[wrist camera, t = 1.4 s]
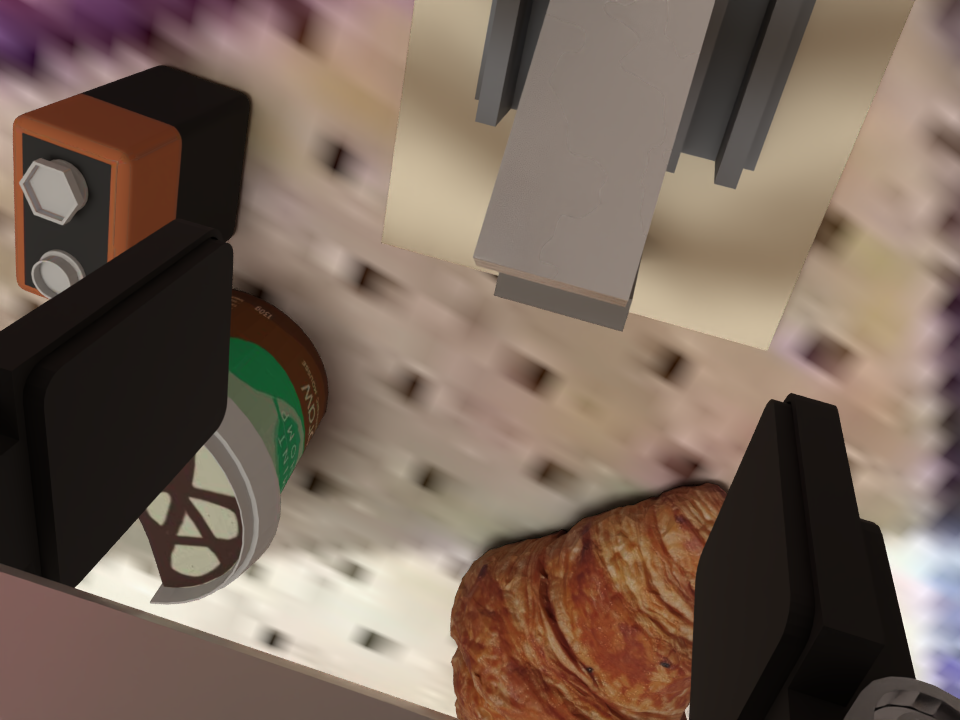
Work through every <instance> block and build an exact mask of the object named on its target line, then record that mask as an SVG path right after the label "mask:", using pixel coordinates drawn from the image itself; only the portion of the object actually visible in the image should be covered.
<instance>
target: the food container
mask: <svg viewBox="0 0 960 720" xmlns="http://www.w3.org/2000/svg"><path fill="white" fill-rule="evenodd" d="M328 393H329V392H328V381H327V376H326V372H325V369H324V365H323V363H322V361H321V358H320V356H319V354H318V352H317V350H316V349H315V347H314V345H313V344H312V342H311V341H310V339H309V338H308V337H307V336H306V334H305V333H304V332H303V331H302V329H301V328H300V327H299V326H298V325H297V324H296V323H295V322H294V321H293V320H291V319H290V318H289V317H288V316H287V315H286V314H284V313H283V312H282V311H280V310H279V309H277V308H276V307H275V306H273V305H271V304H269V303H268V302H266V301H264V300H262V299H260V298H258V297H255V296H253V295H250V294H248V293H245V292H242V291H238V290H234V289H232V301H231V325H230V349H229V374H228V398H227V409H226V413H225V416H224V419H223V421H222V423H221V425H220V427H219V428H218V429H217V431H216V432H215V433H214V434H213V435H212V436H211V437H210V439H209V440H208V441H207V442H206V443H205V444H204V445H203V446H202V447H201V449H200V450H199V451H198V452H197V453H196V454H195V455H194V456H193V457H192V459H191V460H190V461H189V462H188V463H187V464H186V465H185V466H184V467H183V469H182V470H181V471H180V472H179V473H178V474H177V475H176V476H175V477H174V479H173V480H172V481H171V482H170V483H169V484H168V485H167V486H166V487H165V489H164V490H163V491H162V492H161V493H160V494H159V495H158V496H157V497H156V499H155V500H154V501H153V502H152V503H151V504H150V505H149V506H148V507H147V509H146V510H145V511H144V512H143V513H142V514H141V515H140V516H139V517H138V518H139V520H140V522H141V523H142V525H143V528H144V530H145V532H146V535H147V537H148V539H149V542H150V545H151V548H152V551H153V554H154V558H155V561H156V564H157V567H158V570H159V574H160V577H161V580H162V584H161V586H160V588H159V589H158V591H157V592H156V594H155V595H154V597H153V598H152V600H151V601H150V603H153V604H180V603H187V602H191V601H195V600H199V599H201V598H203V597H206V596H208V595H210V594H212V593H214V592H215V591H217V590H219V589H221V588H224V587H226V586H227V585H228V584H230V583H231V582H232V581H234V580H235V579H236V578H238V577H239V576H240V575H241V574H242V573H243V572H244V571H246V570H247V569H248V568H249V567H250V566H251V565H252V564H253V563H255V562H256V561H257V560H258V559H259V558H260V557H261V555H262V554H263V553H264V552H265V551H266V550H267V548H268V547H269V545H270V543H271V542H272V540H273V538H274V536H275V534H276V531H277V527H278V523H279V519H280V510H281V495H280V494H281V492H282V490H283V488H284V487H285V485H286V483H287V481H288V479H289V478H290V476H291V474H292V472H293V470H294V468H295V467H296V465H297V463H298V461H299V459H300V458H301V456H302V454H303V452H304V450H305V449H306V447H307V445H308V443H309V441H310V439H311V438H312V436H313V434H314V432H315V430H316V429H317V427H318V425H319V423H320V421H321V420H322V418H323V416H324V414H325V412H326V408H327V400H328Z"/></svg>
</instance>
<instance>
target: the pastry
mask: <svg viewBox="0 0 960 720" xmlns="http://www.w3.org/2000/svg"><path fill="white" fill-rule="evenodd" d="M726 496H727V493H726V492H725V491H724V490H723V489H721V488H720V487H719V486H718V485H715V484H711V483H705V484H703V485H701V486H695V485H692V486H680V487H677V488H674V489H672V490H670V491H665V492H663V493H662V494H661V495H660V496H658V497H650V498H649V499H647V500H644V501H641V502H639V503H637V504H635V505H627V506H625V507H618V508H615V509H612V510H607V511H604V512H602V513H600V514H598V515H595V516H592V517H586V518H584V519H582V520H581V521H579V522H578V523H577V524H576V525H574V526H573V527H572V528H571V530H570V531H569V532H566V531H565V530H562V529H561V530H560V531H558V532H555V533H553V534H550V535H548V536H545V537H542V538H536V539H527V540H525V541H519V542H516V543H512V544H507V545H505V546H502V547H499V548H495V549H492V550H488V551H487V552H486V553H485V554H484V555H483V556H482V557H480V558H479V559H477V560H476V561H474V562H473V564H472V566H471V567H470V569H469V570H468V572H467V573H466V574H465V575H464V577H463V578H462V582H461V584H460V586H459V589H458V591H457V594H456V596H455V601H454V605H453V608H452V612H451V625H450V631H451V637H452V638H453V639H454V640H455V641H456V643H457V645H458V648H457V650H456V652H455V654H454V656H453V658H452V661H451V663H452V666H453V684H454V691H455V694H456V696H457V700H456V702H455V706H456V714H457V718H458V719H460V720H687V718H686V715H685V709H686V708H687V706H688V705H689V703H690V688H691V666H692V643H693V621H694V598H695V578H696V571H697V567H698V562H699V559H700V556H701V553H702V551H703V548H704V546H705V544H706V541H707V539H708V537H709V534H710V532H711V530H712V528H713V525H714V523H715V521H716V518H717V516H718V514H719V512H720V509H721V507H722V505H723V502H724V500H725V498H726Z"/></svg>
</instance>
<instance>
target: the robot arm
mask: <svg viewBox="0 0 960 720" xmlns="http://www.w3.org/2000/svg"><path fill="white" fill-rule="evenodd" d="M232 277H233V249H232V246H231V245H230V244H229V243H225V242H224V241H223V237H222V233H221V232H220V231H219V230H218V229H214V228H211V227H207V226H204V225H200V224H197V223H193V222H190V221H186V220H183V219H179V218H178V219H175V220H173V221H171V222H169V223H168V224H166V225H165V226H163V227H162V228H160V229H159V230H157V231H155V232H154V233H152V234H151V235H149V236H148V237H146V238H145V239H143V240H141V241H140V242H138V243H137V244H135V245H134V246H132V247H131V248H129V249H127V250H126V251H124V252H123V253H121V254H120V255H118V256H117V257H115V258H114V259H112V260H110V261H109V262H107V263H106V264H104V265H103V266H101V267H100V268H98V269H96V270H95V271H93V272H92V273H90V274H89V275H87V276H86V277H84V278H82V279H81V280H79V281H78V282H76V283H75V284H73V285H72V286H70V287H68V288H67V289H65V290H64V291H62V292H61V293H59V294H58V295H56V296H55V297H53V298H51V299H50V300H48V301H47V302H45V303H44V304H42V305H41V306H39V307H37V308H36V309H34V310H33V311H31V312H30V313H28V314H27V315H25V316H23V317H22V318H20V319H19V320H17V321H16V322H14V323H13V324H11V325H10V326H8V327H6V328H5V329H3V330H2V331H0V720H460V719H457V718H455V717H452V716H449V715H446V714H443V713H440V712H437V711H434V710H432V709H429V708H426V707H423V706H420V705H417V704H414V703H411V702H408V701H406V700H403V699H400V698H397V697H394V696H391V695H388V694H385V693H382V692H379V691H376V690H373V689H370V688H368V687H365V686H362V685H359V684H356V683H353V682H350V681H347V680H344V679H341V678H338V677H335V676H332V675H330V674H327V673H324V672H321V671H318V670H315V669H312V668H309V667H306V666H303V665H300V664H297V663H294V662H291V661H289V660H286V659H283V658H280V657H277V656H274V655H271V654H268V653H265V652H262V651H259V650H256V649H253V648H250V647H247V646H244V645H242V644H239V643H236V642H233V641H230V640H227V639H224V638H221V637H218V636H215V635H212V634H209V633H206V632H203V631H200V630H197V629H194V628H191V627H188V626H186V625H183V624H180V623H177V622H174V621H171V620H168V619H165V618H162V617H159V616H156V615H153V614H150V613H147V612H144V611H141V610H138V609H135V608H132V607H129V606H126V605H123V604H120V603H117V602H114V601H111V600H108V599H105V598H102V597H99V596H96V595H93V594H90V593H87V592H85V591H82V590H79V589H76V588H75V587H76V586H77V585H78V584H79V583H80V582H81V581H82V580H83V579H84V577H85V576H86V575H87V574H88V573H89V572H90V571H91V570H92V569H93V567H94V566H95V565H96V564H97V563H98V562H99V561H100V560H101V559H102V557H103V556H104V555H105V554H106V553H107V552H108V551H109V550H110V549H111V547H112V546H113V545H114V544H115V543H116V542H117V541H118V540H119V539H120V537H121V536H122V535H123V534H124V533H125V532H126V531H127V530H128V529H129V527H130V526H131V525H132V524H133V523H134V522H135V521H136V520H137V519H138V517H139V516H140V515H141V514H142V513H143V512H144V511H145V510H146V509H147V507H148V506H149V505H150V504H151V503H152V502H153V501H154V500H155V499H156V497H157V496H158V495H159V494H160V493H161V492H162V491H163V490H164V489H165V487H166V486H167V485H168V484H169V483H170V482H171V481H172V480H173V479H174V477H175V476H176V475H177V474H178V473H179V472H180V471H181V470H182V469H183V467H184V466H185V465H186V464H187V463H188V462H189V461H190V460H191V459H192V457H193V456H194V455H195V454H196V453H197V452H198V451H199V450H200V449H201V447H202V446H203V445H204V444H205V443H206V442H207V441H208V440H209V439H210V437H211V436H212V435H213V434H214V433H215V432H216V431H217V429H218V428H219V427H220V425H221V423H222V421H223V419H224V416H225V413H226V409H227V398H228V374H229V349H230V325H231V301H232ZM689 720H960V699H958V698H956V697H954V696H953V695H951V694H949V693H947V692H945V691H944V690H942V689H940V688H938V687H936V686H934V685H931V684H928V683H925V682H922V681H919V680H916V678H915V673H914V669H913V665H912V660H911V656H910V652H909V647H908V643H907V639H906V635H905V630H904V626H903V622H902V617H901V613H900V609H899V604H898V600H897V596H896V591H895V587H894V583H893V578H892V574H891V570H890V565H889V561H888V557H887V552H886V548H885V544H884V539H883V535H882V533H881V530H880V528H879V526H878V525H876V524H875V523H874V522H870V521H867V520H864V519H860V517H859V512H858V507H857V502H856V497H855V492H854V487H853V483H852V478H851V473H850V468H849V463H848V458H847V453H846V448H845V443H844V438H843V433H842V428H841V423H840V418H839V413H838V409H837V407H836V406H835V405H831V404H828V403H824V402H821V401H817V400H814V399H810V398H807V397H803V396H800V395H796V394H793V393H790V394H789V395H788V396H787V397H786V399H785V400H784V402H780V401H776V400H773V399H771V400H770V401H769V402H768V403H767V405H766V407H765V409H764V411H763V413H762V416H761V418H760V420H759V423H758V425H757V427H756V429H755V432H754V434H753V436H752V439H751V441H750V443H749V445H748V448H747V450H746V452H745V455H744V457H743V459H742V461H741V464H740V466H739V468H738V470H737V473H736V475H735V477H734V480H733V482H732V484H731V486H730V489H729V491H728V493H727V496H726V498H725V500H724V502H723V505H722V507H721V509H720V512H719V514H718V516H717V518H716V521H715V523H714V525H713V528H712V530H711V532H710V534H709V537H708V539H707V541H706V544H705V546H704V548H703V551H702V553H701V556H700V559H699V562H698V567H697V571H696V578H695V598H694V621H693V643H692V666H691V688H690V711H689Z"/></svg>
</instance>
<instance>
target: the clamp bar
mask: <svg viewBox="0 0 960 720" xmlns="http://www.w3.org/2000/svg"><path fill="white" fill-rule="evenodd" d="M714 3H715V0H550V2H549V5H548V9H547V12H546V15H545V19H544V22H543V25H542V29H541V32H540V35H539V39H538V42H537V45H536V49H535V52H534V55H533V59H532V62H531V65H530V69H529V72H528V75H527V79H526V82H525V85H524V88H523V92H522V95H521V98H520V102H519V105H518V108H517V112H516V115H515V118H514V122H513V125H512V128H511V132H510V135H509V138H508V142H507V145H506V148H505V152H504V155H503V158H502V162H501V165H500V168H499V172H498V175H497V178H496V182H495V185H494V188H493V191H492V195H491V198H490V201H489V205H488V208H487V211H486V215H485V218H484V221H483V225H482V228H481V231H480V235H479V238H478V241H477V245H476V248H475V251H474V255H473V259H474V261H475V263H476V265H477V266H479V267H483V268H486V269H490V270H494V271H497V272H501V273H504V274H508V275H511V276H515V277H519V278H522V279H526V280H529V281H533V282H536V283H540V284H544V285H547V286H551V287H554V288H558V289H562V290H565V291H569V292H572V293H576V294H579V295H583V296H587V297H590V298H594V299H597V300H601V301H604V302H608V303H612V304H615V305H619V306H622V307H625V306H626V304H627V302H628V300H629V297H630V293H631V290H632V286H633V283H634V279H635V276H636V272H637V269H638V265H639V262H640V259H641V255H642V252H643V248H644V245H645V241H646V238H647V234H648V231H649V228H650V224H651V221H652V217H653V214H654V210H655V207H656V203H657V200H658V196H659V193H660V190H661V186H662V183H663V179H664V176H665V172H666V169H667V165H668V162H669V158H670V155H671V152H672V148H673V145H674V141H675V138H676V134H677V131H678V127H679V124H680V120H681V117H682V114H683V110H684V107H685V103H686V100H687V96H688V93H689V89H690V86H691V83H692V79H693V76H694V72H695V69H696V65H697V62H698V58H699V55H700V51H701V48H702V45H703V41H704V38H705V34H706V31H707V27H708V24H709V20H710V17H711V13H712V10H713V7H714Z"/></svg>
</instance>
